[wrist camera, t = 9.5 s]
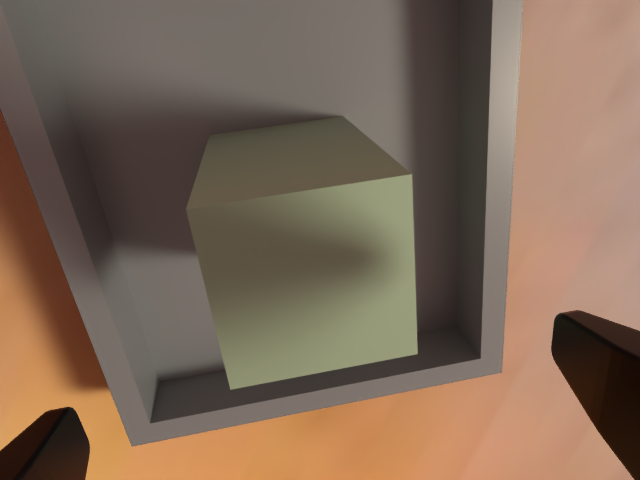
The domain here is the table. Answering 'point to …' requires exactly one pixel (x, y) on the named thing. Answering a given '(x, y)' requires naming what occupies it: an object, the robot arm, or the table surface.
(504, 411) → the table surface
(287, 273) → the green block
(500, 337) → the bin
